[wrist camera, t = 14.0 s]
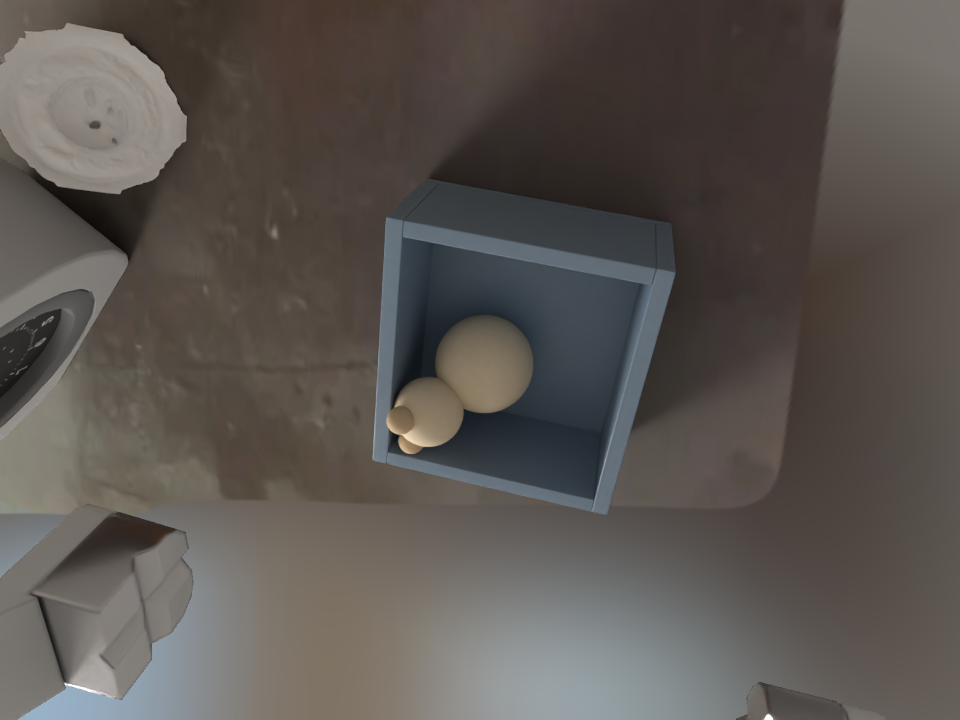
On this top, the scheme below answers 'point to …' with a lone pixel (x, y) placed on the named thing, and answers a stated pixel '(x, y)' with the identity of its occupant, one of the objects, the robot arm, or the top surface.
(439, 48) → the top surface
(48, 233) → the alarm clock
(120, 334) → the top surface
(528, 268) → the bin
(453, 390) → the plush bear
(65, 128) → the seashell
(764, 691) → the robot arm
